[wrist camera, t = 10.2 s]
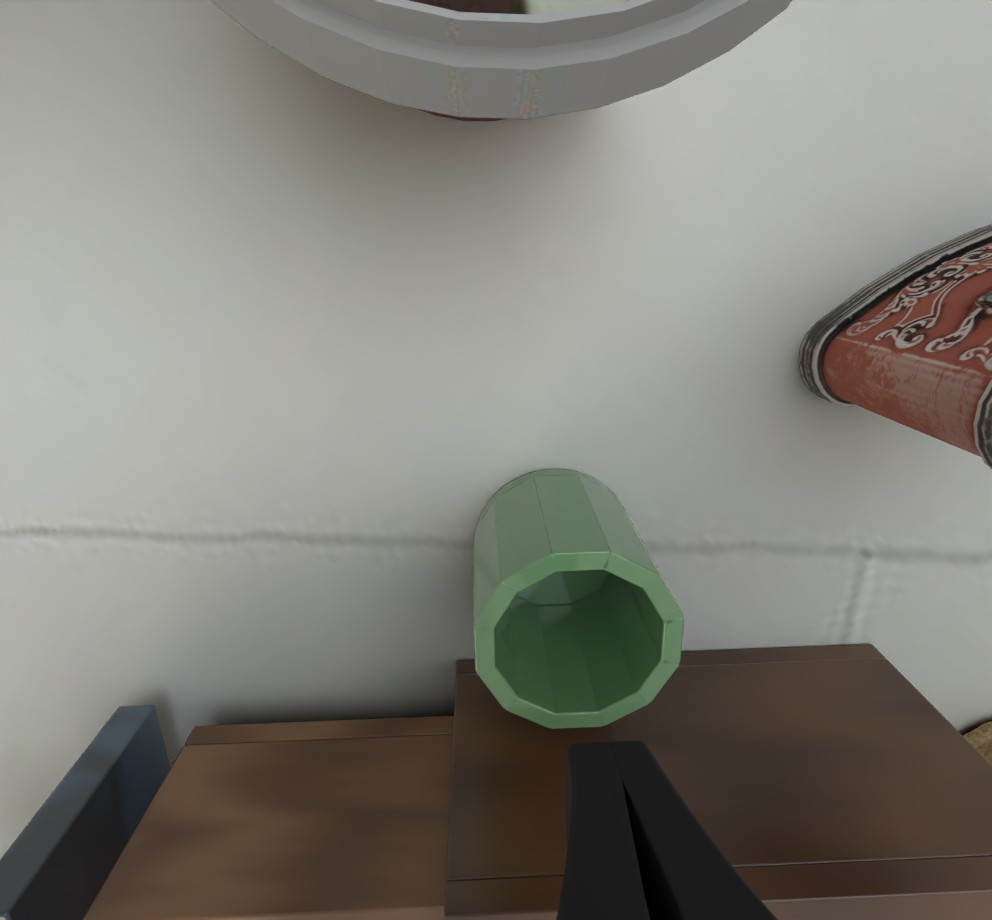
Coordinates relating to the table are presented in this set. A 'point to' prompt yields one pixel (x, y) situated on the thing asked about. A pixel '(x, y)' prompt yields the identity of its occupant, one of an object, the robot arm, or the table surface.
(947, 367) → the lighter
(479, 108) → the food container
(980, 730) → the sprinkles bottle
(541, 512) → the pot
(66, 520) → the table surface
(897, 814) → the cabinet
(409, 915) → the drawer
